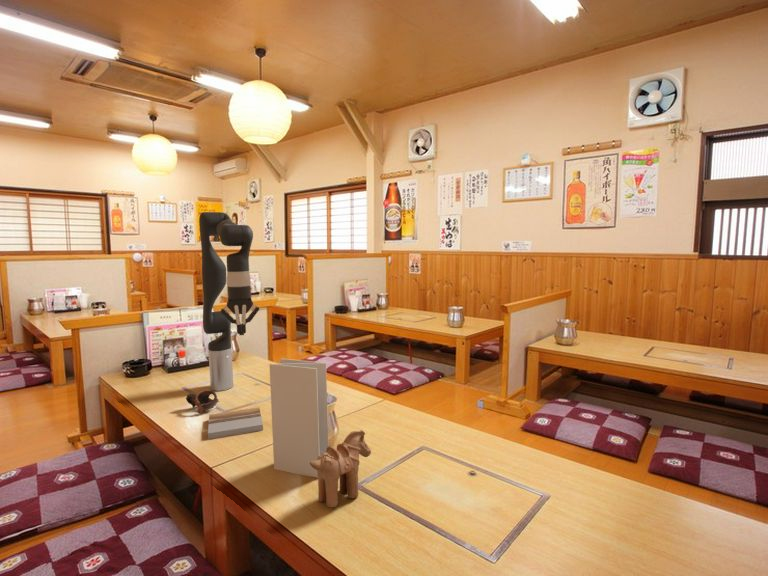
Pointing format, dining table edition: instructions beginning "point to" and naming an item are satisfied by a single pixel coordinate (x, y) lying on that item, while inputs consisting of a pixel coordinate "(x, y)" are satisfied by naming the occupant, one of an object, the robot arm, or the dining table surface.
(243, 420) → the slate plank
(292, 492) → the dining table surface
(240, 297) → the robot arm
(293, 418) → the brochure
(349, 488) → the figurine
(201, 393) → the pottery mug
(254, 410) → the glossy brown slab
